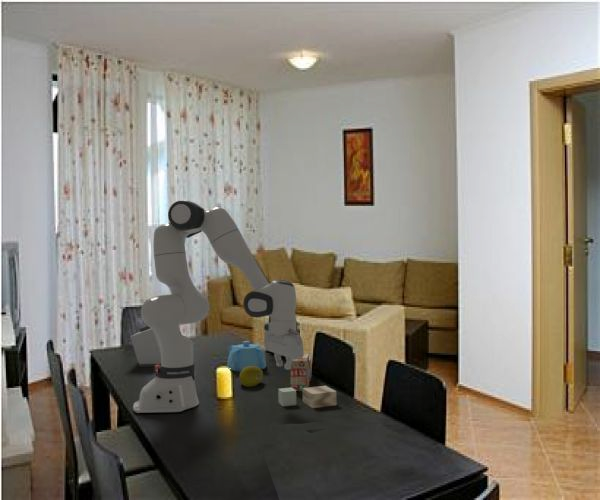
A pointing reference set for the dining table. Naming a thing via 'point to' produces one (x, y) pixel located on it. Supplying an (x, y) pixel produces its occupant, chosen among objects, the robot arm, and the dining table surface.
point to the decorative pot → (246, 356)
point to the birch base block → (319, 396)
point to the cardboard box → (300, 373)
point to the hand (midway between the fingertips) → (283, 367)
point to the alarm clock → (147, 347)
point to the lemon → (250, 376)
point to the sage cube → (287, 396)
